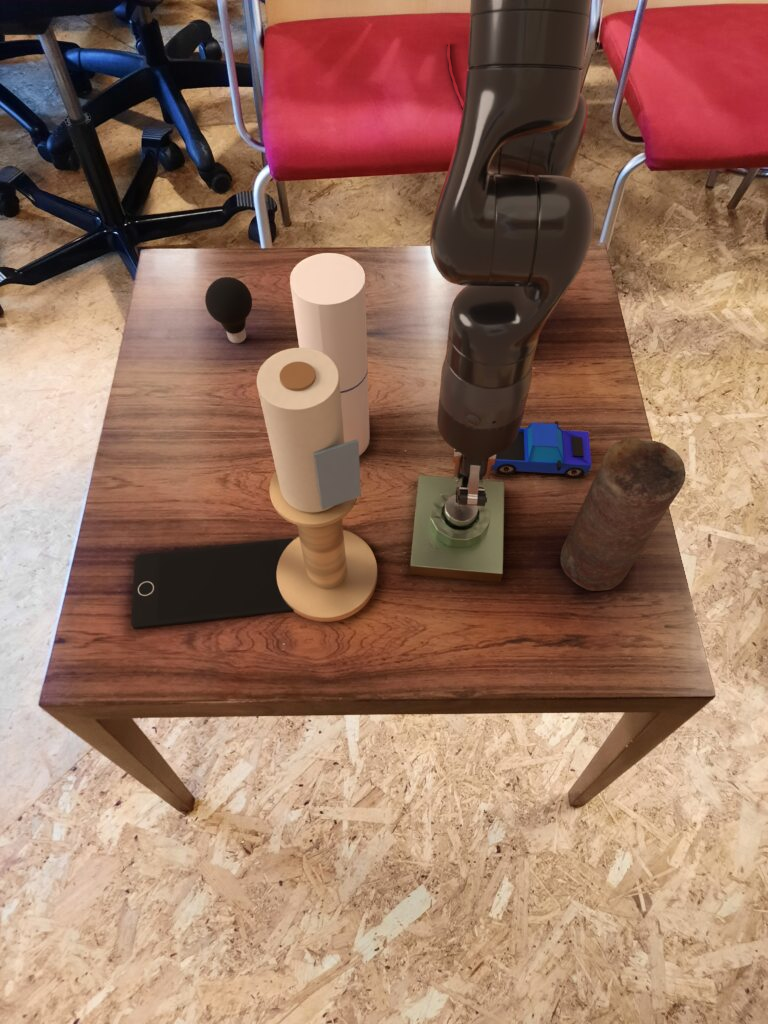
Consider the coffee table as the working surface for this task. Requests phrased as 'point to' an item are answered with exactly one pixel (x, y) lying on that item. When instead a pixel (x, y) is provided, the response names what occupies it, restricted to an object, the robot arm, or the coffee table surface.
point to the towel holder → (323, 563)
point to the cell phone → (207, 584)
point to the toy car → (546, 452)
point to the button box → (457, 534)
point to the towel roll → (308, 430)
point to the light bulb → (229, 306)
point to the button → (459, 514)
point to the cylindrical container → (336, 330)
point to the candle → (621, 512)
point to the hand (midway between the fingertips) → (465, 498)
